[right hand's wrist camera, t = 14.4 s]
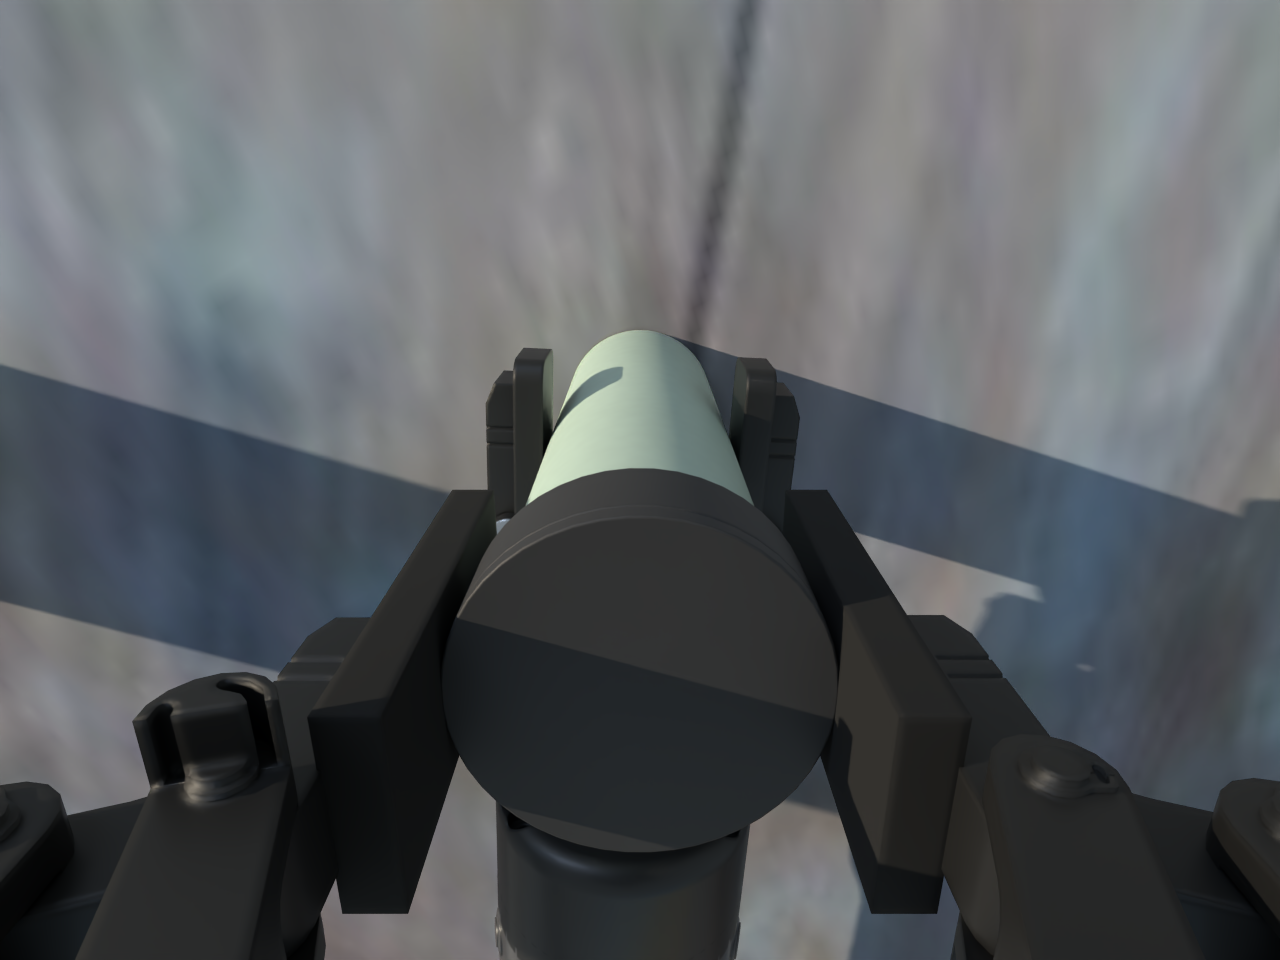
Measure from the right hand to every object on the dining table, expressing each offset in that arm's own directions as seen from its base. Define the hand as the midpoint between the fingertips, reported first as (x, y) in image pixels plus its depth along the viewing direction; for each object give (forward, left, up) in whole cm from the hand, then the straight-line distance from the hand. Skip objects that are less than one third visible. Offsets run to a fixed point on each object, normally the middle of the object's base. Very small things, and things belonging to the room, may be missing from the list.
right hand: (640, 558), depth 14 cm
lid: (0, 0, +4) cm, 4 cm away
